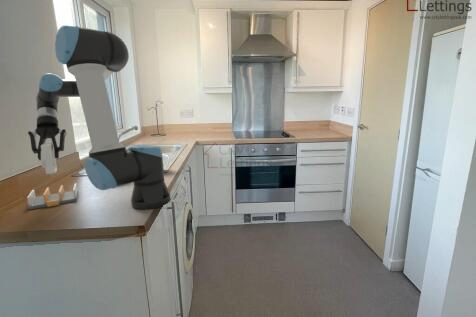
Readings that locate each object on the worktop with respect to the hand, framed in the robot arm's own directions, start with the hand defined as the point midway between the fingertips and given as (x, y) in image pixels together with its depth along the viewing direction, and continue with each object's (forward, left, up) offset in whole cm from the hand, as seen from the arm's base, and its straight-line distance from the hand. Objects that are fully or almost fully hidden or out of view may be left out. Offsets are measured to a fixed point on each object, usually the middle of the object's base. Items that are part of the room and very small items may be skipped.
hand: (48, 165), depth 102 cm
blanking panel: (+4, 0, -4) cm, 5 cm away
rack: (+4, +1, -16) cm, 17 cm away
